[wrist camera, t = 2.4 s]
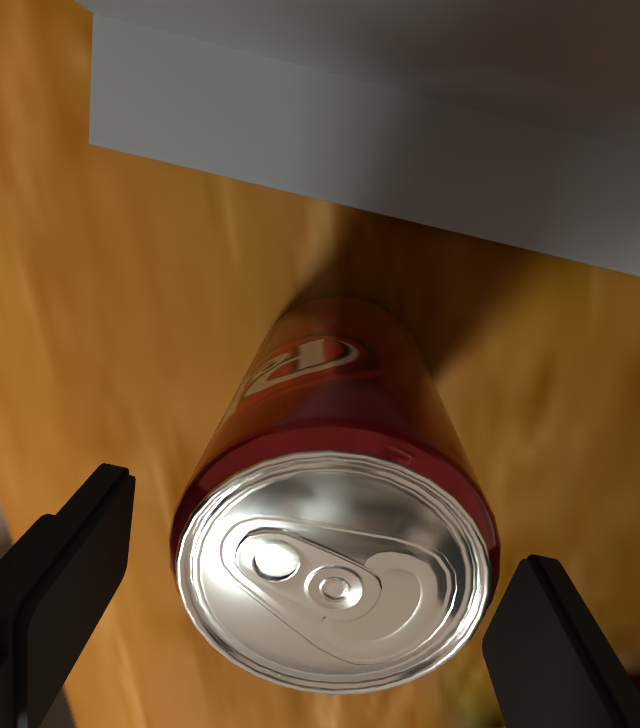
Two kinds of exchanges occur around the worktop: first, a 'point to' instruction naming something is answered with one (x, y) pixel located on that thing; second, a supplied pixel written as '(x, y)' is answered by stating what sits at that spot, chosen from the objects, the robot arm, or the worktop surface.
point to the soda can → (336, 512)
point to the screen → (393, 108)
